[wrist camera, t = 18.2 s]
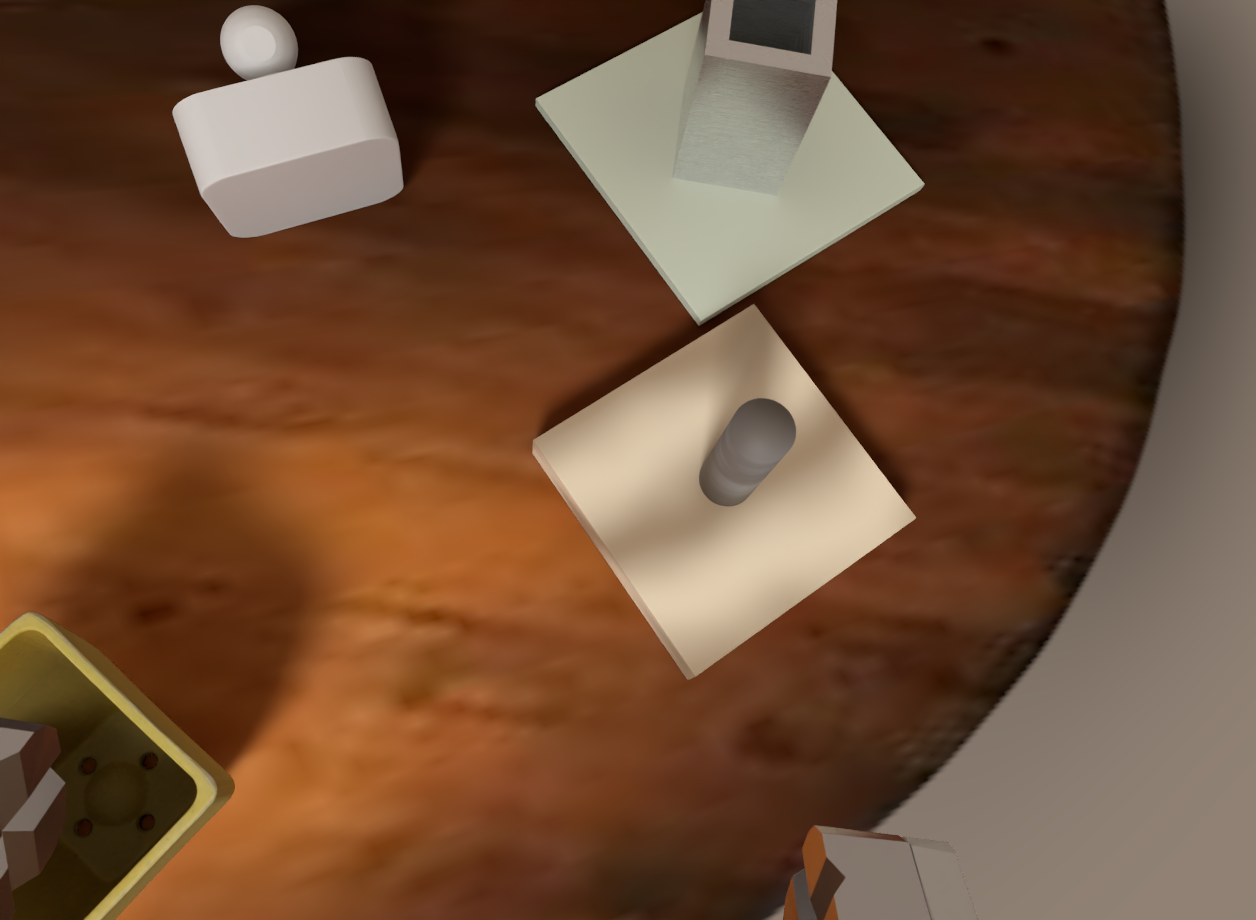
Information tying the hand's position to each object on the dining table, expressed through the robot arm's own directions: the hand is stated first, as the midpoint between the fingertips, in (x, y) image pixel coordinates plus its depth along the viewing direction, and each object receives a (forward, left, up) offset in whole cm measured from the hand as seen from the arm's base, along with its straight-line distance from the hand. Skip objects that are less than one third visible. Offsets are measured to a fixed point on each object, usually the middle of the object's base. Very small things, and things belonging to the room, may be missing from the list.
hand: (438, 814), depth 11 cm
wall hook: (-30, +8, -32) cm, 44 cm away
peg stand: (-5, +15, -31) cm, 35 cm away
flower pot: (-8, -12, -32) cm, 35 cm away
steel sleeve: (-19, +25, -31) cm, 44 cm away
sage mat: (-19, +26, -31) cm, 44 cm away
